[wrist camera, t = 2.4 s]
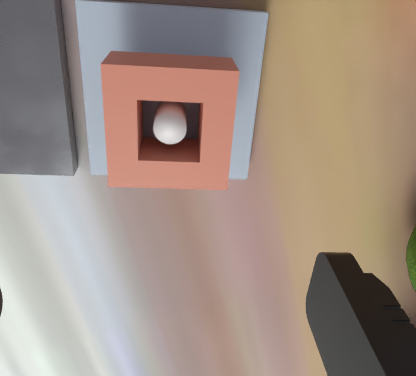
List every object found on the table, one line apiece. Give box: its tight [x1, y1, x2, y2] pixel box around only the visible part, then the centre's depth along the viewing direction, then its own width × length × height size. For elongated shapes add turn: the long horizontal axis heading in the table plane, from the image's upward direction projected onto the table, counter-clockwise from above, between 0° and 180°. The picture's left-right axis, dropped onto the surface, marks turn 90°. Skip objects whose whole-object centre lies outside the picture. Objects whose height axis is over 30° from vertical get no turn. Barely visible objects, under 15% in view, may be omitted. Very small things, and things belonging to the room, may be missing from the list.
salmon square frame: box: [100, 51, 240, 190], centre depth 20 cm, size 6×6×3 cm
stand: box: [75, 0, 269, 179], centre depth 21 cm, size 10×10×6 cm
